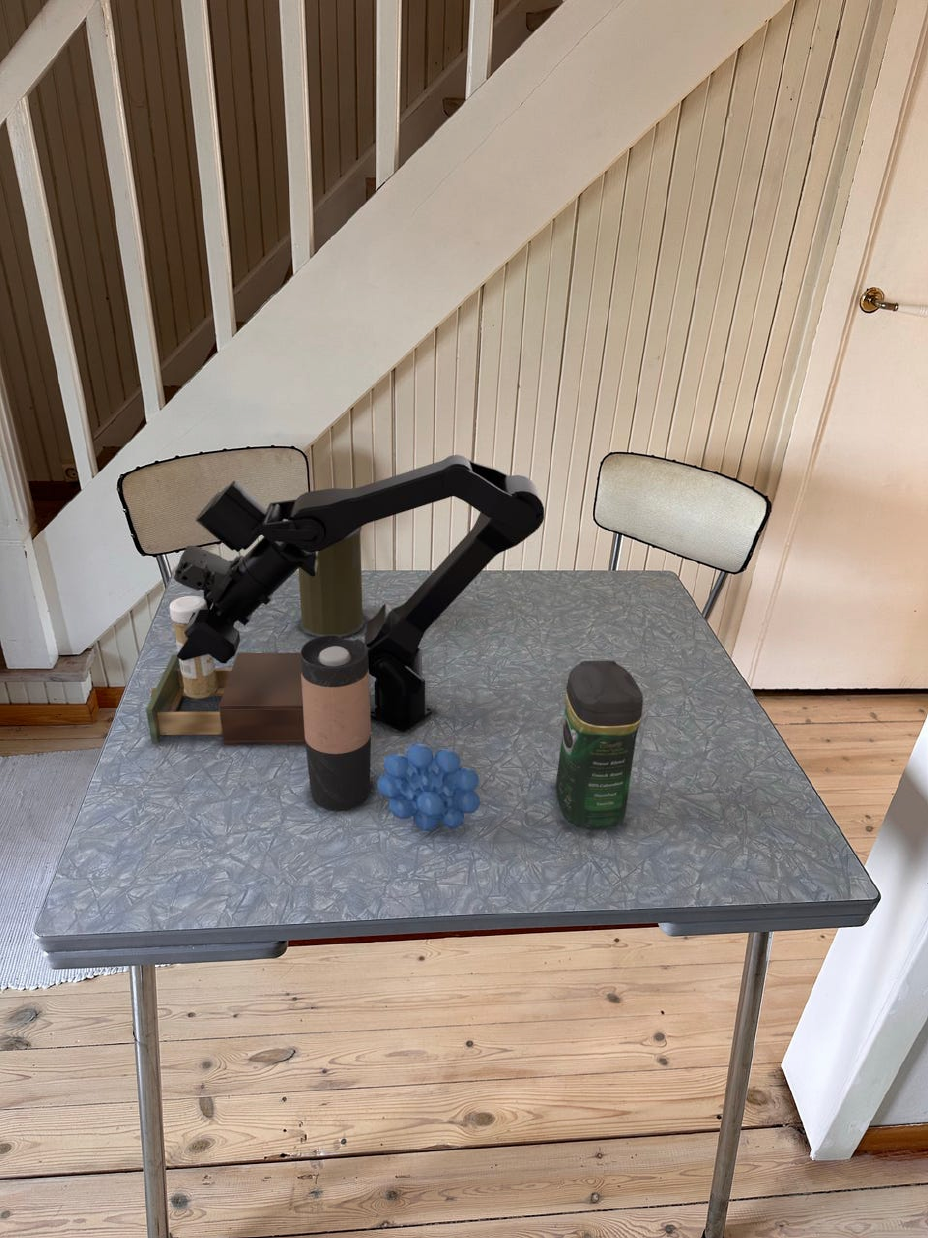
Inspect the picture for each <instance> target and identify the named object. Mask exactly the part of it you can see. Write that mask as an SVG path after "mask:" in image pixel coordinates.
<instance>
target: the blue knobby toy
mask: <svg viewBox="0 0 928 1238" xmlns="http://www.w3.org/2000/svg"><path fill="white" fill-rule="evenodd" d="M405 755H406V756H404V755H403V754H401V753H398V752H397V753H390V754H388V755H387V756H386V757H385V759H384V762H383V767H384V772H385V774H382V775H381V776H380V777H379V778H378V781H377V783H376V784H377V785H376V786H377V791H378V792H379V794H381V796H383V797H384V798H386V799H389V803H388V807H389V811H390V812H391V815H393V816H394V817H396V818H397V819H399V820H408V819H411V818H412V819H413V823H414V824H415V826H416V827H417V828H418V829H421V830H423V831H425V832H426V831H427V832H428V831H434V830H435V829H436V828H437V827H438V825H439V822H440V823H441V824H442V825H443V826H444V827H446V828H448V829H457V828H459V827H461V826H462V825H463V823H464V821H465V819H466V818H465V814H474V813H475V812H477V811H478V810H479V808H480V805H481V799H480V796H479V794H477V793H476V791H475V790H476V789H477V788H478V786H479V784H480V783H479V782H480V778H479V775H478V774H477V773H476V771H475V769H474V770H473V769H472V768H470V767H468V766H461V764H462V763H461V758H460V756H459V755H458V754H457V753H456V752H455V751H454V750H451V749H449V748H443V749H439V750H438V751H436V752H435V754H434V753H433V751H432V749H430V747H428V746H427V745H425V744H423V743H413V744H411V745H410V746H409V747H408V748H407V751H406V754H405Z"/></svg>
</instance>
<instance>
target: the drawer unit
mask: <svg viewBox="0 0 928 1238" xmlns="http://www.w3.org/2000/svg"><path fill="white" fill-rule="evenodd" d="M231 669H232V670H231V673H230V676H229V679H228V681H227V684H226V687H225V690H224V693H223V695H222V696H221V698H220V700H219V704H218V709H219V711H218V712H220V719H221V727H222V734H223V735H222V741H223V745H224V746H226V745H227V746H228V745H229V746H230V745H231V746H232V745H233V746H234V745H238V746H239V745H241V746H243V745H306V743H305V731H304V713H303V696H302V679H301V662H300V652H236V656H235V659H234V662H233V665H232V667H231Z"/></svg>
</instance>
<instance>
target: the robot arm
mask: <svg viewBox="0 0 928 1238" xmlns="http://www.w3.org/2000/svg"><path fill="white" fill-rule="evenodd" d="M452 497H455V498H456V499H459V500H461V501H463V502H465V503H466V504H468V505H469V506H470V507H472V508H474V509H475V510H477V511H478V512H479V514H478V516H477V519H476V520H475V523H474V525H473V526H472V528H471V530H469V532H467V534H466V535H465V536H464V537H463V539H462V540H461V541H459V543H458V544H457V545H456V546H455V547H454V548H453V549H452V551H451V552H450V553H449V554H448V555H447V556H446V557H445V558H444V559H443V561H442V562H440V564H439V565H438V566H437V567H436V568H435V570H434V571H432V573H431V574H430V575H429V576H428V577H427V578H426V579H425V580H424V582H423V583H422V584H421V585H420V586H419V587H418V588H417V589H416V591H415V592H414V593H413V594H412V595H411V596H410V597H409V598H408V600H406V601H405V602H404V603H403V604H401V605H400V606H397V607H395V608H393V609H392V608H391V607H390V606H389V605H388V604H387V603H383V605H382V606H381V607H380V609H379V610H378V612H377V613H376V615H375V616H374V617H372V618H371V619H368V620H367V621H366V626H365V627H366V628H365V634H364V641H363V642H364V643H365V645H366V646H367V649H368V665H369V676H371V677H373V678H375V680H374V687H373V689H374V706H375V708H373V709H371V710H370V719H371V718H372V719H373V720H374V721H375V720H376V721H377V722H380V723H381V724H383V725H386V726H388V727H389V728H392V729H393V730H395V731H398V732H399V733H406V732H407V731H409V730H410V729H412V728H413V727H414V726H416V725H417V724H419V723H420V722H422V721H423V720H424V719H426V718H427V717H429V716H430V715H431V714H432V713H433V708H431V707H429V706H427V705H426V678H423V650H422V647H420V644H421V641H422V639H423V637H424V635H425V633H426V631H427V630H428V629H429V628H430V627H431V626H432V625H433V624H434V623H435V622H436V620H438V619H439V618H440V616H441V615H442V614H443V613H444V612H445V611H446V610H447V609H448V607H450V605H451V604H452V603H453V602H454V601H455V600H456V599H457V598H458V597H459V596H460V595H461V594H462V593H463V591H465V589H466V588H468V586H469V585H470V584H471V583H472V582H473V581H474V580H475V579H476V577H477V576H479V574H480V573H481V572H482V571H483V570H484V569H485V568H486V567H487V566H488V565H489V564H490V563H491V561H492V560H493V559H494V558H495V557H496V556H498V555H499V554H501V553H503V552H505V551H507V550H510V549H512V548H514V547H515V548H516V547H517V546H518V545H519V544H521V543H522V542H523V541H525V540H526V539H527V538H529V537H530V536H532V535H533V534H534V533H535V532H537V531H538V529H539V528H540V527H541V526H542V524H543V522H544V521H545V507H544V504H543V501H542V499H541V496H540V493H539V492H538V489H537V486H536V484H535V483H534V482H533V480H532V479H530V478H528V477H527V476H524V475H520V474H513V475H509V474H507V473H505V472H503V471H501V470H499V469H497V468H494V467H491V466H489V465H484V464H481V463H478V462H475V461H473V460H471V459H468V458H467V457H465V456H463V455H460V454H452V455H449V456H447V457H445V458H444V459H442V460H439V461H436V462H433V463H430V464H427V465H424V466H421V467H418V468H415V469H411V470H409V471H405V472H402V473H399V474H396V475H393V476H390V477H387V478H384V479H383V478H382V479H381V480H377V481H375V482H374V481H373V482H371V483H368V484H365V485H362V486H358V487H352V488H338V487H337V488H335V487H331V488H325V489H318V490H310V491H306V492H304V493H302V494H300V495H298V497H297V498H296V499H291V500H290V499H288V500H283V501H281V500H280V501H275V502H269V504H268V506H267V508H266V507H265V506H263V504H261V503H260V502H259V501H258V500H257V499H256V498H254V497H253V496H252V495H251V494H249V492H248V491H247V490H246V489H245V487H244V486H243V485H242V484H240V483H239V482H238V481H237V480H233V481H231V483H230V484H229V485H228V486H227V485H226V486H225V488H223V489H222V490H221V491H218V492H217V493H216V494H215V495H214V496H213V497H212V498H211V499H210V500H209V501H208V502H207V504H206V505H205V506H204V507H203V509H202V510H201V511H200V512H199V514H198V515H197V517H196V518H195V522H196V523H197V524H199V525H200V526H201V527H202V528H203V529H205V530H206V531H208V532H209V534H211V535H212V536H213V537H214V538H215V539H217V540H218V541H219V542H221V543H222V544H223V545H225V546H226V547H227V548H228V549H229V550H230V551H234V552H235V551H236V552H237V553H240V551H241V550H244V551H246V550H248V549H249V548H250V547H251V546H252V545H253V544H254V543H255V542H256V541H257V539H258V538H259V537H261V535H262V536H263V537H262V538H261V539H260V540H259V541H258V542H257V543H256V544H255V545H254V546H253V547H252V548H251V549H250V550H249V551H248V552H247V553H246V554H245V555H243V554H241V555H240V556H239V555H237V556H236V557H235V558H234V559H233V560H228V559H225V558H223V557H222V556H220V555H218V554H216V553H213V552H212V551H208V550H206V549H203V548H200V547H199V546H195V545H192V544H191V545H190V544H189V545H187V546H186V547H185V549H184V551H183V552H182V554H181V556H180V558H179V561H178V565H177V567H176V569H175V571H174V575H173V580H174V581H175V582H177V583H179V584H181V585H182V586H184V587H187V588H189V589H192V590H194V591H197V592H198V591H203V592H202V593H203V599H205V600H206V603H207V608H208V609H200V610H199V611H198V612H197V613H195V612H193V614H192V616H191V618H190V620H189V623H188V625H187V627H186V629H185V631H184V633H185V635H186V637H187V640H186V642H185V643H184V645H183V646H182V648H181V649H180V651H179V652H178V651H177V654H176V655H177V657H178V658H179V659H181V660H182V661H185V660H188V659H192V658H195V657H199V656H202V655H206V654H209V655H211V656H212V657H213V658H214V660H216V661H217V662H218V663H220V664H227V663H228V662H229V661H230V660H231V659H232V658H233V657H234V656H235V655H236V654H237V650H238V648H239V645H240V642H241V635H240V631H239V629H237V628H236V627H234V625H235V623H236V622H239V623H241V624H242V625H243V626H244V627H245V626H246V625H247V624H248V623H249V622H250V621H251V618H252V615H253V614H254V612H255V611H256V610H258V608H260V606H262V605H265V606H267V605H268V604H269V603H270V602H271V601H272V600H273V595H274V593H275V592H276V591H277V590H278V589H279V588H280V587H281V586H282V585H283V584H284V583H286V581H287V580H288V579H290V577H292V576H293V574H294V573H296V572H297V570H299V569H298V568H299V567H300V568H301V569H303V570H304V571H305V572H306V573H307V574H309V575H310V576H312V577H314V576H315V575H316V571H317V566H318V560H317V554H318V551H321V550H323V549H325V548H327V547H329V546H331V545H333V544H335V543H337V542H339V541H341V540H343V539H344V538H346V537H347V536H348V535H350V534H351V533H352V532H354V531H355V530H356V529H358V528H359V527H361V526H362V527H363V526H365V525H367V524H371V523H374V522H376V521H379V520H382V519H386V518H388V517H392V516H395V515H399V514H401V513H404V512H409V511H411V510H414V509H417V508H421V507H425V506H427V505H430V504H433V503H436V502H439V501H443V500H445V499H449V498H452Z"/></svg>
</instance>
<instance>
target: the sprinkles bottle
mask: <svg viewBox="0 0 928 1238" xmlns="http://www.w3.org/2000/svg"><path fill="white" fill-rule="evenodd" d="M200 609H208V608H207V603H206V600H205V599H204V597H201V596H197V595H186V596H181V597H178V598H176V599H174V600H172V601H171V603H170V604H169V613H170V619H171V621H172V623H173V626H174V627H173V628H174V635H175V644H176V651H177V653H178V652H179V651H180V649H181V648H182V646H183V645H184V643H185V642H186V640H187V637H186V635H185V633H184V631H185V629H186V627H187V625H188V623H189V620H190V618H191V616H192V614H193V612H195V613H197V612H198V611H199V610H200ZM179 664H180V669H181V673H182V675H183V682H184V693H185V695H186V696H185V697H188V698H191V699H195V700H199V699H206V698H209V697H212V696H211V695H213V694H214V693H216V691H217V690H218V683H217V680H216V673H215V669H216V664H215V658H213V657H212V656H211V655H209V654H206V655H202V656H199V657H195V658H192V659H188V660H185V661H182V660H181V659H179Z"/></svg>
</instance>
